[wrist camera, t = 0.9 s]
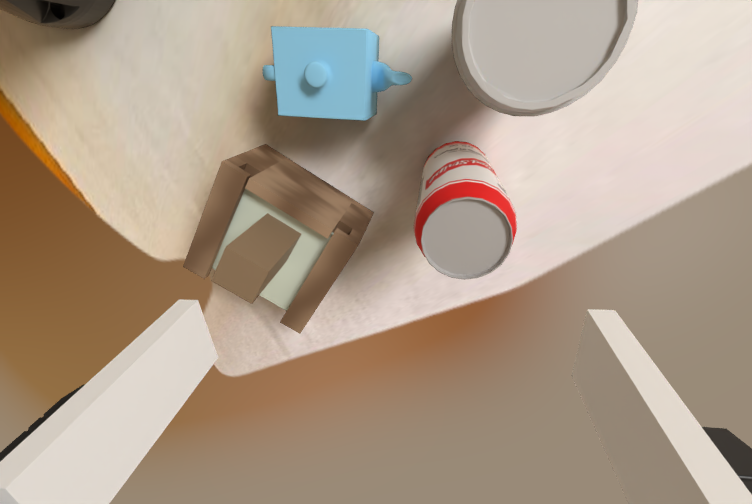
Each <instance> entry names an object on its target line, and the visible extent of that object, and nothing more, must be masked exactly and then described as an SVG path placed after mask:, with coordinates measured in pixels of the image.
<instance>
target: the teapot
mask: <svg viewBox="0 0 752 504" xmlns="http://www.w3.org/2000/svg"><path fill="white" fill-rule="evenodd" d="M271 32H272V44H273V57H274V65H264V66H263V76H264V79H265V80H269V81H276V94H277V106H278V116H295V117H313V118H330V119H347V120H364V121H366V120H367V119H369V118H371V117H372V116H374V115H376V114H377V92H381V91H385V90H386V89H388V88H389V87H390V86H392V85H405V84H408V83H410V82H411V81H412V77H411V76H410V75H409V74H407V73H404V72H397V71H392V70H391V69H390V67H389V66H388V65H386V64H384V63H382V62H378V56H379V36H378V35H376V34H375V33H373V32H372V31H370V30H369V29H354V28H314V27H275V26H271Z"/></svg>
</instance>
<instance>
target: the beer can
mask: <svg viewBox="0 0 752 504" xmlns="http://www.w3.org/2000/svg"><path fill="white" fill-rule="evenodd" d="M516 230H517V224H516V212H515V210H514V208H513V206H512V204H511V201H510V199H509V197H508V195H507V194H506V192H505V190H504V188H503V186H502V185H501V183H500V181H499V179H498V177H497V176H496V174H495V172H494V170H493V168H492V166H491V165H490V163H489V161H488V159H487V157H486V156H485V154H484V153H483V152H482V151H481V150H480V149H479V148H478V147H476V146H474V145H472V144H470V143H468V142H459V141H455V142H450V143H446V144H444V145H442V146H440V147H438V148H437V149H435V150H434V152H433V153H432V154H431V155H430V156H429V157H428V159H427V161H426V163H425V165H424V167H423V173H422V179H421V185H420V191H419V197H418V202H417V208H416V214H415V221H414V233H415V238H416V243H417V245H418V246H419V248H420V250H421V251H422V253H423V255H424V257H426V258H427V260H428V262H429V264H430V265H432V266H433V267H434V268H435V269H436V270H437V271H438V272H440V273H442V274H444V275H447V276H449V277H451V278H458V279H473V278H479V277H482V276H484V275H487V274H489V273H491V272H493V271H494V270H495V269H496V268H498V267H499V266H500V265H502V263H503V262H504V260H505V259H506V258H507V256H508V255H509V253H510V249H511V246H512V244H513V241H514V237H515V234H516Z"/></svg>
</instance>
